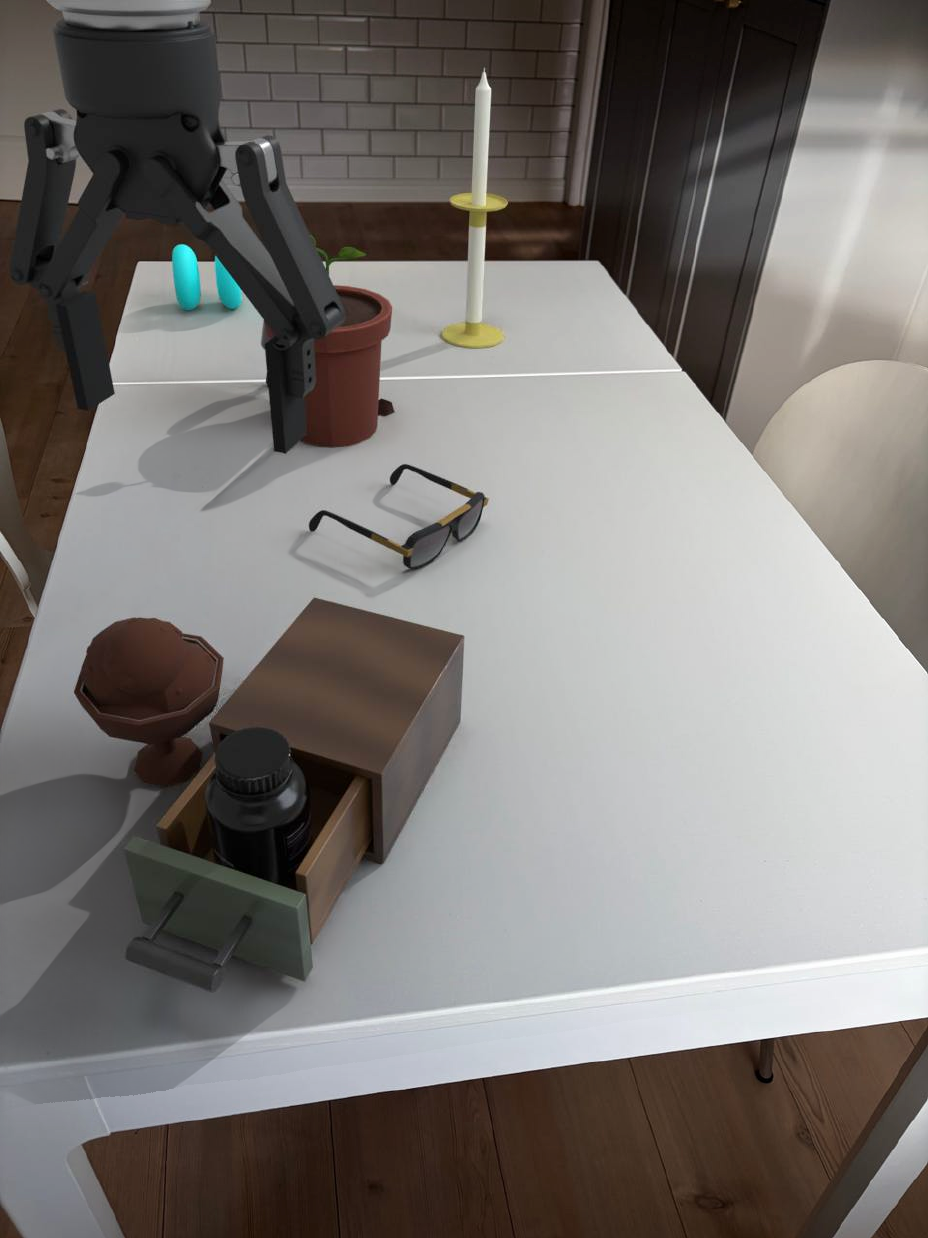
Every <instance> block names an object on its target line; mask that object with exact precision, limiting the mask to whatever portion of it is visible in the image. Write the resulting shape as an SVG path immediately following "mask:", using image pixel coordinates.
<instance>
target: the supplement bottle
mask: <svg viewBox="0 0 928 1238" xmlns="http://www.w3.org/2000/svg"><path fill="white" fill-rule="evenodd" d="M215 765H216V771H215V773H214V774H213V775H212V777H211V778H210V780H209V782H208V784H207V787H206V791H205V807H206V813H207V819H208V825H209V831H210V837H211V843H212V849H213V855H214V861H215V863H216V864H219V865H222V866H225V867H227V868H230V869H233V870H236V871H239V872H242V873H245V874H248V875H251V876H254V877H257V878H260V879H263V880H266V881H269V882H272V883H274V884H277V885H280V886H283V887H286V888H289V889H292V890H295V891H297V884H296V874H295V872H296V871H297V869H298V868H299V866H300V864H301V863H302V861H303V860H304V858H305V856H306V855H307V853H308V852H309V850H310V848H311V847H312V845H313V835H312V820H311V806H310V791H309V784H308V780H307V777H306V775H305V773H304V772H303V770H302V769H301V768H300V767H299V766H298V765H297V764H296V763H295V762H294V761H293V760H292V757H291V750H290V745H289V743H288V742H287V739H286V738H284V737H283V735H282V734H279V732H278V731H274V730H273V729H268V728H266V727H264V728H261V727H250V728H244V729H242V730H237V731H236V732H234V733H231V734H230V735H229V736H227V737H225V739H224V740H222V741H221V743H220V745H219V746H218V747H217V750H216V752H215Z"/></svg>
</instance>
